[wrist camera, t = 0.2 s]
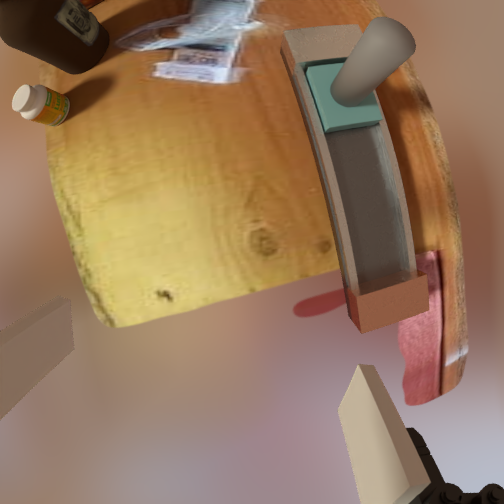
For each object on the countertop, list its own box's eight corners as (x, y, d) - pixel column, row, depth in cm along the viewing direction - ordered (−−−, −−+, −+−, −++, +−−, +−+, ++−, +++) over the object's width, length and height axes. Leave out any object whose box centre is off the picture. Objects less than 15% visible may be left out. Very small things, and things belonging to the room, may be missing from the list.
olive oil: (59, 87, 34) (-49, 41, 10) (63, 40, 33) (-24, -16, 8) (112, 63, 34) (11, -15, 9) (114, 16, 32) (37, -65, 7)
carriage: (304, 76, 32) (333, -2, 15) (354, 70, 31) (407, 1, 15) (323, 133, 33) (372, 83, 16) (373, 125, 33) (446, 80, 16)
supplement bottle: (73, 114, 35) (35, 99, 26) (50, 133, 36) (10, 123, 26) (67, 89, 35) (31, 72, 25) (44, 108, 35) (7, 95, 25)
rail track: (280, 52, 33) (283, 30, 27) (346, 44, 33) (357, 24, 27) (348, 315, 39) (361, 333, 33) (409, 296, 39) (429, 310, 33)
